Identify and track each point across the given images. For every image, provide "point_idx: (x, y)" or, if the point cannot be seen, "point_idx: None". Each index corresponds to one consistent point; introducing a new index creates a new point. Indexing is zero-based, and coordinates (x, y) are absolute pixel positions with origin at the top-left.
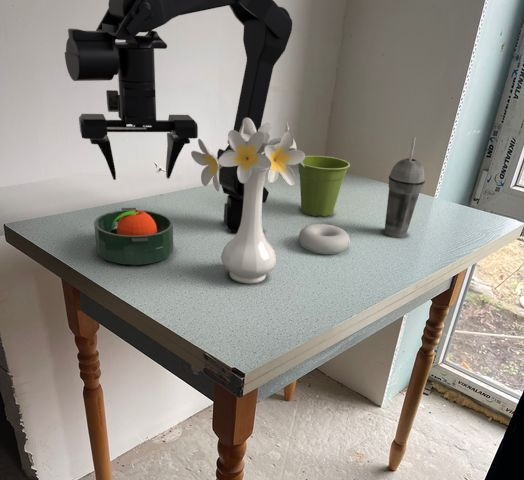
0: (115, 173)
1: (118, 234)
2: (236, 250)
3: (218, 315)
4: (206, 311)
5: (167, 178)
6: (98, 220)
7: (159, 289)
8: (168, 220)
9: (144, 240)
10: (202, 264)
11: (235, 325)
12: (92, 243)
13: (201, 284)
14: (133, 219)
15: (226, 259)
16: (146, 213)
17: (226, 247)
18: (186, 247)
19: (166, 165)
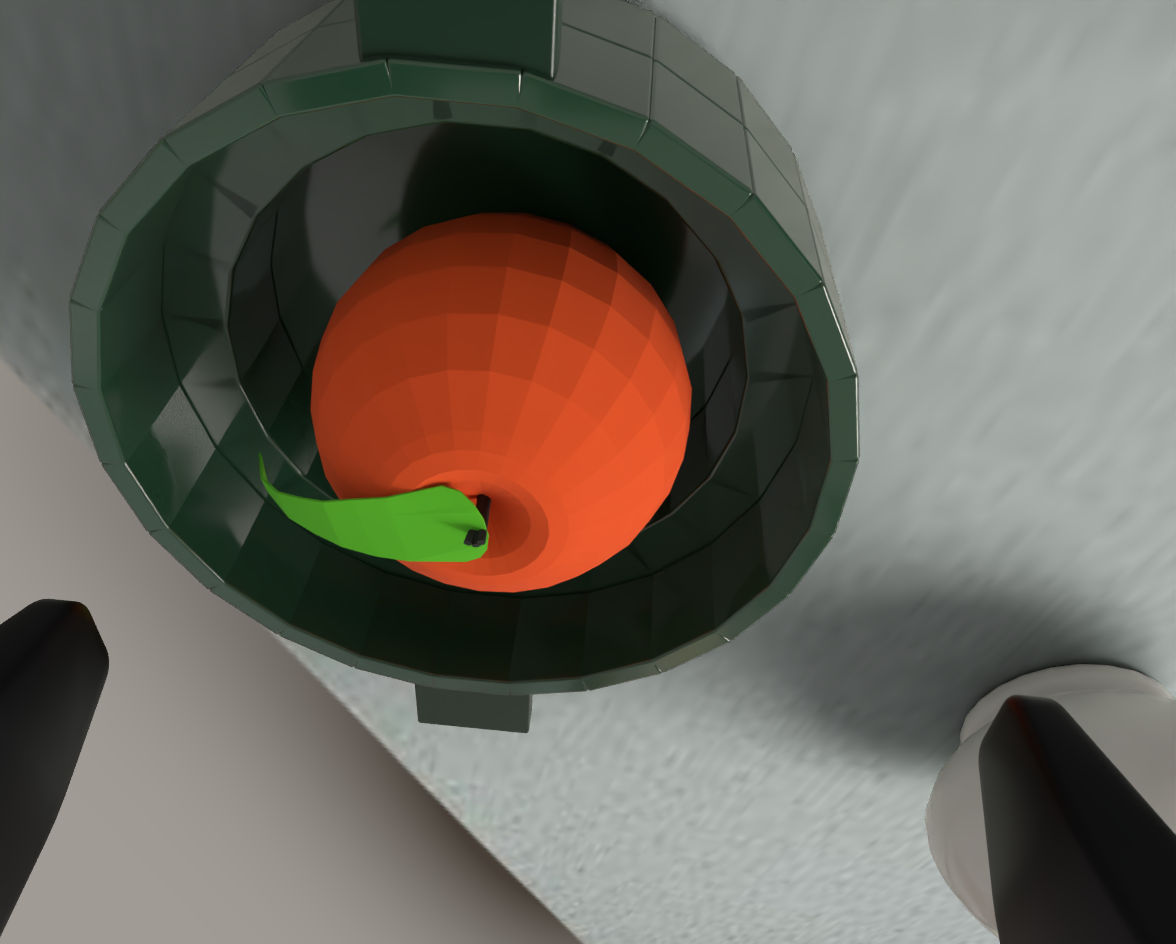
0: (64, 792)
1: (320, 641)
2: (994, 931)
3: (729, 883)
4: (697, 860)
5: (984, 743)
6: (105, 324)
7: (559, 719)
8: (829, 449)
9: (501, 726)
10: (907, 565)
11: (756, 924)
12: (129, 29)
13: (777, 727)
14: (440, 580)
15: (936, 854)
16: (587, 517)
17: (985, 869)
18: (956, 299)
19: (1079, 916)
